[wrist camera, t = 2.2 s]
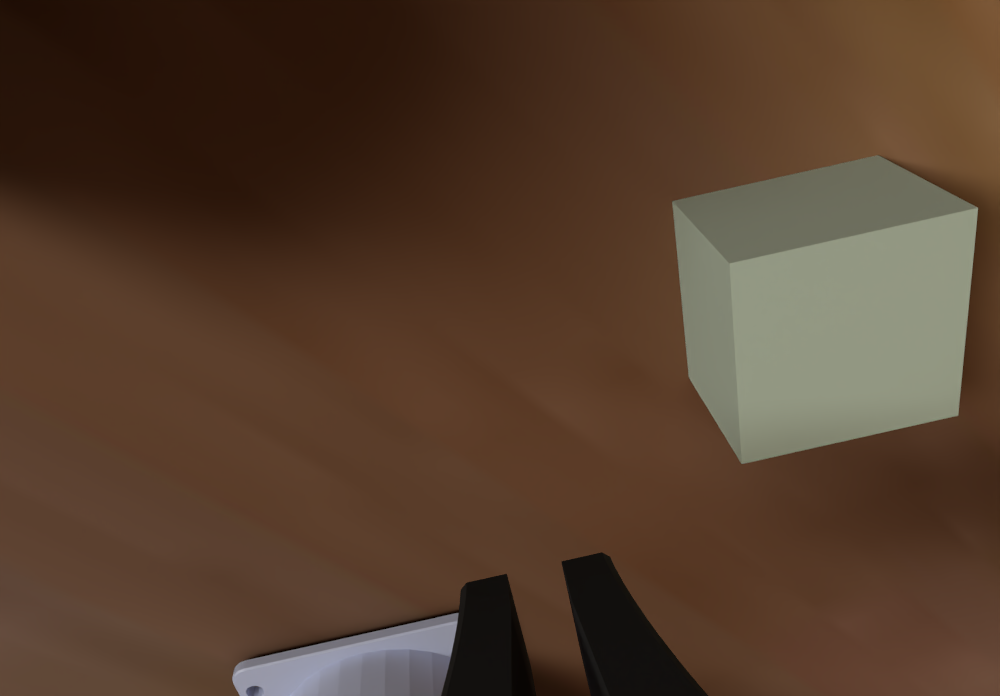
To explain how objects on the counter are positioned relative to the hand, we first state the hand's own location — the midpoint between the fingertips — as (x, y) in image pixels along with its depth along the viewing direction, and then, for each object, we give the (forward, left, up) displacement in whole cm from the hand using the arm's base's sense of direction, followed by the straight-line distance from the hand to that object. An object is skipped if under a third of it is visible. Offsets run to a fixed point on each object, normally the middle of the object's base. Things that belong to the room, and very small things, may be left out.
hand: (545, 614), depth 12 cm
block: (0, -7, -10) cm, 12 cm away
